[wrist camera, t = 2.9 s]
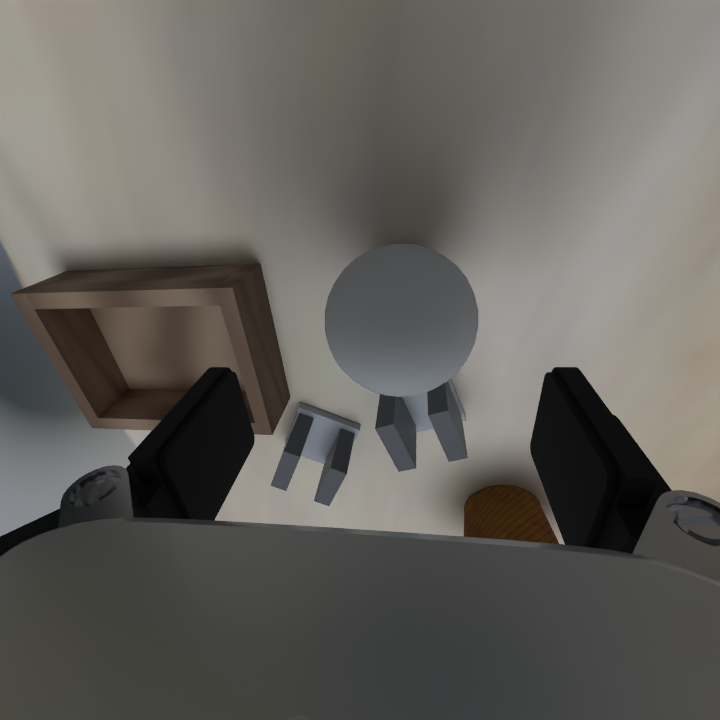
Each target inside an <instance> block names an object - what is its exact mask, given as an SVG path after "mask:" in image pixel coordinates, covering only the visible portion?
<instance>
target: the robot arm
mask: <svg viewBox="0 0 720 720" xmlns="http://www.w3.org/2000/svg"><path fill="white" fill-rule="evenodd" d="M253 445H254V433H253V429H252V426H251V422H250V419H249V415H248V412H247V408H246V405H245V401H244V398H243V395H242V391H241V388H240V384H239V381H238V377H237V374H236V373H235V372H232V371H231V369H230V368H228V367H210V368H209V369H207V371H206V372H205V373H204V374H203V375H202V376H201V377H200V378H199V379H198V380H197V382H196V383H195V384H194V385H193V386H192V387H191V388H190V389H189V390H188V392H187V393H186V394H185V395H184V396H183V397H182V398H181V399H180V400H179V402H178V403H177V404H176V405H175V406H174V407H173V408H172V409H171V410H170V411H169V413H168V414H167V415H166V416H165V417H164V418H163V419H162V420H161V421H160V423H159V424H158V425H157V426H156V427H155V428H154V429H153V430H152V431H151V433H150V434H149V435H148V436H147V437H146V438H145V439H144V440H143V441H142V443H141V444H140V445H139V446H138V447H137V448H136V449H135V450H134V452H132V454H131V455H130V456H129V457H128V459H129V461H130V465H129V466H128V467H127V468H126V469H125V468H123V467H121V466H115V465H114V466H106V467H102V468H99V469H96V470H94V471H91V472H89V473H87V474H85V475H84V476H82V477H81V478H79V479H78V480H76V482H74V483H73V484H72V485H71V486H70V487H69V488H68V489H67V491H66V492H65V493H64V495H63V497H62V500H61V505H60V509H58V510H56V511H54V512H52V513H50V514H47V515H45V516H43V517H41V518H39V519H37V520H35V521H33V522H30V523H28V524H26V525H24V526H22V527H20V528H18V529H16V530H14V531H11V532H9V533H7V534H5V535H3V536H1V537H0V720H720V503H719V502H717V501H715V500H713V499H711V498H709V497H706V496H703V495H701V494H698V493H694V492H689V491H684V490H675V491H672V490H671V489H670V487H669V486H668V485H667V483H666V482H665V481H664V479H663V478H662V477H661V475H660V474H659V473H658V471H657V470H656V469H655V467H654V466H653V465H652V463H651V462H650V461H649V459H648V458H647V456H646V455H645V454H644V452H643V451H642V450H641V448H640V447H639V446H638V444H637V443H636V442H635V440H634V439H633V438H632V436H631V435H630V434H629V432H628V431H627V429H626V428H625V427H624V425H623V424H622V423H621V421H620V420H619V419H618V418H617V417H616V416H615V415H612V413H611V412H610V411H609V409H608V408H607V407H606V405H605V404H604V402H603V401H602V400H601V398H600V397H599V396H598V394H597V393H596V392H595V390H594V389H593V387H592V386H591V385H590V383H589V382H588V381H587V379H586V378H585V376H584V375H583V374H582V372H581V371H580V370H579V369H578V368H576V367H555V368H553V370H552V372H547V373H546V374H545V377H544V382H543V387H542V392H541V396H540V401H539V406H538V411H537V415H536V420H535V425H534V430H533V434H532V439H531V445H530V449H531V455H532V458H533V461H534V463H535V466H536V469H537V471H538V474H539V477H540V479H541V482H542V484H543V487H544V490H545V492H546V495H547V498H548V500H549V503H550V506H551V508H552V511H553V514H554V516H555V519H556V522H557V524H558V527H559V530H560V532H561V535H562V537H563V540H564V543H565V545H562V544H551V543H539V542H528V541H516V540H504V539H490V538H476V537H462V536H447V535H433V534H419V533H405V532H390V531H375V530H360V529H344V528H329V527H313V526H298V525H281V524H265V523H248V522H231V521H214V520H215V518H216V516H217V514H218V512H219V510H220V508H221V506H222V504H223V503H224V501H225V499H226V497H227V495H228V493H229V491H230V489H231V487H232V485H233V484H234V482H235V480H236V478H237V476H238V474H239V472H240V470H241V468H242V466H243V465H244V463H245V461H246V459H247V457H248V455H249V453H250V451H251V449H252V447H253Z"/></svg>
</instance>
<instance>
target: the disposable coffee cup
mask: <svg viewBox="0 0 720 720" xmlns="http://www.w3.org/2000/svg"><path fill="white" fill-rule="evenodd" d="M464 537H476V538H490V539H504V540H516V541H528V542H539V543H551V544H559V543H558V540H557V538H556V536H555V534H554V532H553V530H552V528H551V526H550V524H549V522H548V520H547V518H546V516H545V514H544V511H543V509H542V508H541V505H540V503H539V501H538V499H537V498H536V497H535V496H534V495H533V494H531V493H529V492H528V491H526V490H524V489H521V488H517V487H512V486H495V487H489V488H485V489H483V490H480V491H478V492H476V493H475V494H473V495H472V496H471V497H470V498H469V499H468V500H467V502H466V504H465V507H464Z"/></svg>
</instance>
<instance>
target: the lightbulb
mask: <svg viewBox="0 0 720 720" xmlns="http://www.w3.org/2000/svg"><path fill="white" fill-rule="evenodd" d="M477 329H478V308H477V303H476V299H475V295H474V292H473V290H472V288H471V286H470V284H469V282H468V280H467V278H466V277H465V275H464V274H463V273H462V272H461V270H460V269H459V268H458V267H457V266H456V265H455V264H454V263H453V262H451V261H450V260H449V259H448V258H446V257H445V256H443V255H441V254H439V253H437V252H435V251H434V250H432V249H430V248H426V247H423V246H419V245H416V244H403V243H399V244H391V245H385V246H382V247H379V248H376V249H373V250H370V251H368V252H366V253H365V254H363V255H361V256H359V257H358V258H356V259H355V260H354V261H352V262H351V263H350V264H349V265H348V266H347V267H346V268H345V269H344V270H343V271H342V273H341V274H340V276H339V277H338V278H337V280H336V281H335V283H334V285H333V287H332V290H331V292H330V294H329V296H328V300H327V305H326V310H325V332H326V336H327V341H328V344H329V348H330V350H331V352H332V354H333V357H334V359H335V361H336V362H337V363H338V365H339V366H340V367H341V369H342V370H343V371H344V372H345V373H346V374H347V375H348V376H349V377H350V378H351V379H353V380H354V381H355V382H357V383H358V384H360V385H361V386H363V387H364V388H366V389H368V390H371V391H373V392H375V393H379V394H383V395H387V396H396V397H404V396H414V395H419V394H423V393H425V392H428V391H430V390H433V389H435V388H437V387H438V386H440V385H442V384H443V383H445V382H447V381H448V380H449V379H451V378H452V377H453V376H454V375H455V374H456V373H457V372H458V371H459V370H460V368H461V367H462V366H463V364H464V363H465V362H466V360H467V358H468V356H469V354H470V352H471V350H472V348H473V346H474V343H475V339H476V334H477Z"/></svg>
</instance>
